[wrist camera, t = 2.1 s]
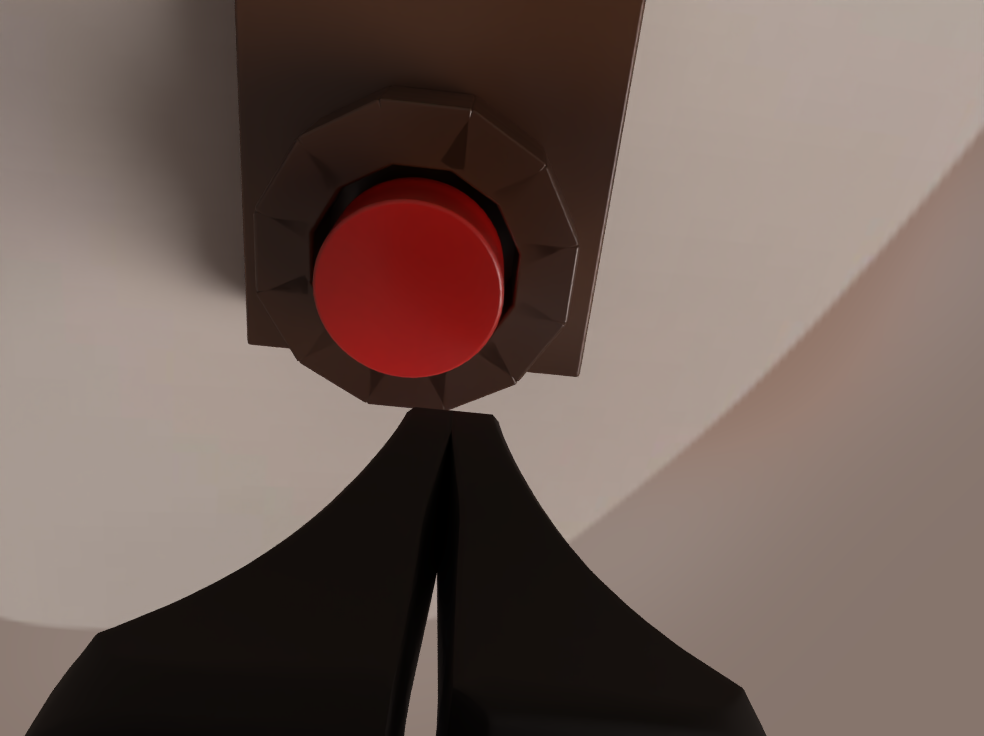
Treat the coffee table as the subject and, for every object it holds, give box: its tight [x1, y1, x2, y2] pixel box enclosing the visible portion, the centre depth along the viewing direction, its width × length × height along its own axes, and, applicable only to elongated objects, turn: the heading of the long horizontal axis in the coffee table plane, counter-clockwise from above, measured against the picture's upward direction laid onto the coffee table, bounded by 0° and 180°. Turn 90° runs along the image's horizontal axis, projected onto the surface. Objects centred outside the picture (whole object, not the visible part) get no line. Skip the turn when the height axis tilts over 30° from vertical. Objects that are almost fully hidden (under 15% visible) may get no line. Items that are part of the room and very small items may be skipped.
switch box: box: [235, 0, 646, 410], centre depth 17 cm, size 10×8×4 cm
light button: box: [312, 177, 504, 378], centre depth 15 cm, size 4×4×2 cm
